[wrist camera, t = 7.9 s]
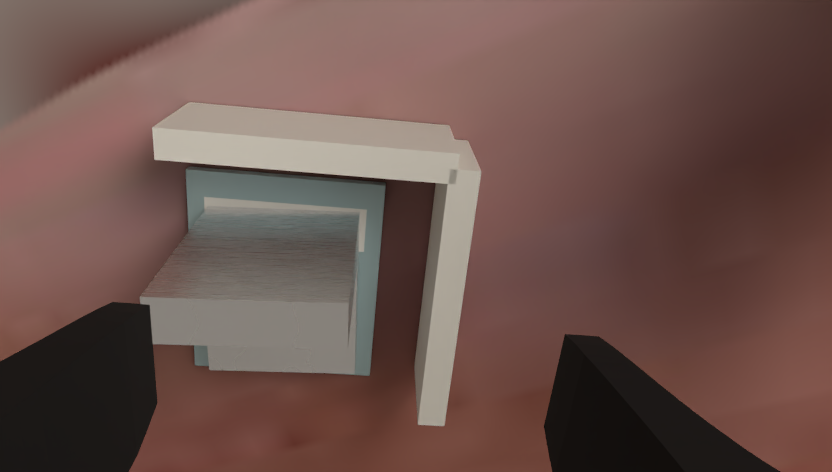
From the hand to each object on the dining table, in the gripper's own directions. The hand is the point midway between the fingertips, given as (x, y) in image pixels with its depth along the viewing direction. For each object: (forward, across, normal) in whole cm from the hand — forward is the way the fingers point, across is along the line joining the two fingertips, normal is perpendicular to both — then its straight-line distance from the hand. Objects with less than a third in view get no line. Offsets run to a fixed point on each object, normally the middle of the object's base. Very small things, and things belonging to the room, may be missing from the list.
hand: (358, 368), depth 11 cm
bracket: (+8, +2, +3) cm, 9 cm away
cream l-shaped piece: (+9, +2, +2) cm, 9 cm away
